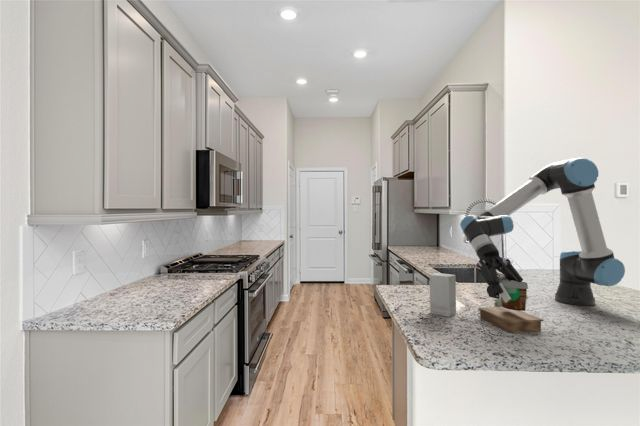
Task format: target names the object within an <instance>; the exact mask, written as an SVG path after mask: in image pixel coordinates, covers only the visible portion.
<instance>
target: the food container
mask: <svg viewBox="0 0 640 426" xmlns="http://www.w3.org/2000/svg"><path fill="white" fill-rule="evenodd" d="M498 280H499V283H502V284H503V286H504V288H505V289H506V291H507V292H508V294H509V296H510V297H511V300H510V301H509V302H507V303H505V302H504V300H503V298H502V297H501V302H502V307H504V308H507V309H511V310H518V311H522V312H525V311H526V304H527V303H526V302H527V300H526V295H527V291H528V289H529V286H528V282H523V281H522V282H518V281H514V280H509V279H507V278H506V277H505V276H500V277H499V278H498Z"/></svg>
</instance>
